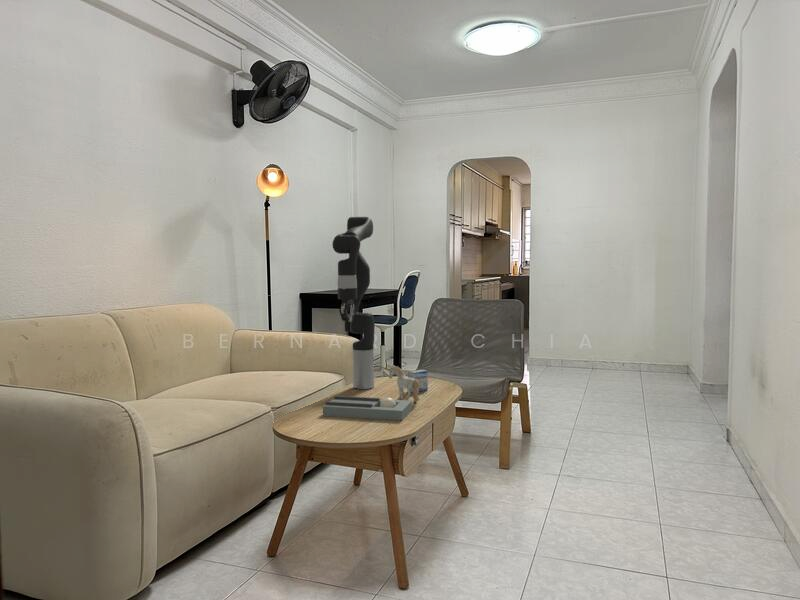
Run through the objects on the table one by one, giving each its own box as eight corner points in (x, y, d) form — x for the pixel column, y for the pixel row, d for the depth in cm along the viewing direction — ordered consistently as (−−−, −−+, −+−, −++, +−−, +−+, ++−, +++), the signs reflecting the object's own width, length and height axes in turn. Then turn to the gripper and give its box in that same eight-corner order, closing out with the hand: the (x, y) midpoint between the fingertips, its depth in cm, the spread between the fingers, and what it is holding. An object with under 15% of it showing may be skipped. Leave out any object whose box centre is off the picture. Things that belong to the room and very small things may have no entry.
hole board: (337, 405, 228) (337, 394, 228) (412, 409, 221) (412, 398, 220) (322, 415, 214) (322, 403, 214) (402, 420, 206) (402, 408, 206)
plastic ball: (398, 410, 218) (382, 413, 219) (395, 395, 218) (379, 397, 219) (396, 414, 212) (380, 416, 213) (393, 398, 212) (377, 400, 213)
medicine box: (414, 393, 248) (414, 372, 248) (407, 391, 252) (407, 371, 251) (428, 390, 253) (428, 370, 253) (421, 388, 257) (421, 369, 256)
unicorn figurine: (390, 395, 244) (390, 363, 244) (428, 402, 232) (428, 368, 231) (379, 398, 239) (379, 366, 238) (417, 405, 227) (417, 371, 226)
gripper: (344, 286, 234) (344, 329, 235) (332, 287, 221) (332, 333, 222) (361, 286, 232) (362, 329, 233) (350, 287, 219) (351, 333, 220)
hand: (348, 331), depth 228 cm, fingers closed
